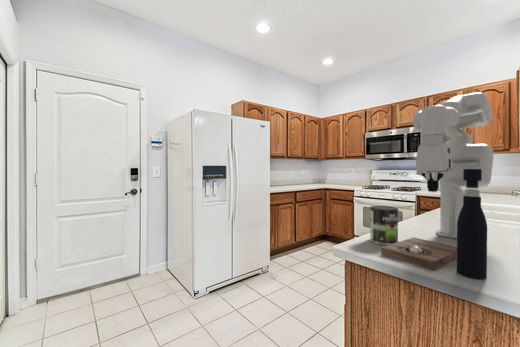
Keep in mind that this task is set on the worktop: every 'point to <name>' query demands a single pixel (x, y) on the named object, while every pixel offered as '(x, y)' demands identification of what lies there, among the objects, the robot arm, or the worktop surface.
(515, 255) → the worktop surface
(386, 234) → the coffee can
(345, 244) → the worktop surface
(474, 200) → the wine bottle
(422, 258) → the board
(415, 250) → the ball
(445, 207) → the robot arm
